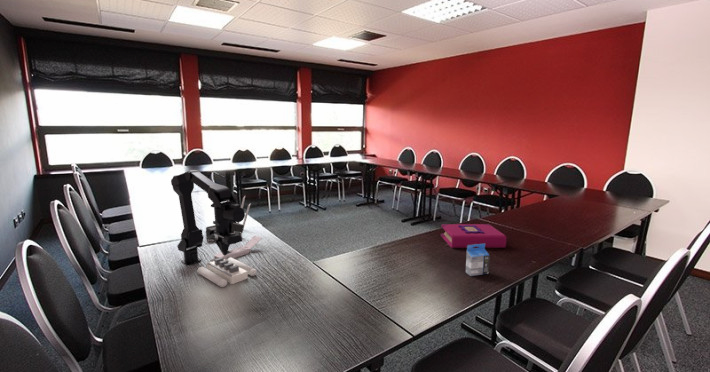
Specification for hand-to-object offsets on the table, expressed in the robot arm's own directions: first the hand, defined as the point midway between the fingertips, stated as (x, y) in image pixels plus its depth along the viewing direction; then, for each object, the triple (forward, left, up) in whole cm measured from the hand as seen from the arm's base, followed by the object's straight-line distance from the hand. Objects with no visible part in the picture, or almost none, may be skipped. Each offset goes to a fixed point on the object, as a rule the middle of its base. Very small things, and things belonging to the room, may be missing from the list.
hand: (225, 255), depth 138 cm
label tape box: (+79, +70, -8) cm, 106 cm away
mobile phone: (-15, +14, -9) cm, 23 cm away
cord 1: (+1, -7, -8) cm, 11 cm away
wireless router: (-47, +27, -8) cm, 55 cm away
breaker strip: (+1, 0, -8) cm, 8 cm away
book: (+61, +107, -9) cm, 124 cm away
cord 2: (+1, +6, -8) cm, 11 cm away
